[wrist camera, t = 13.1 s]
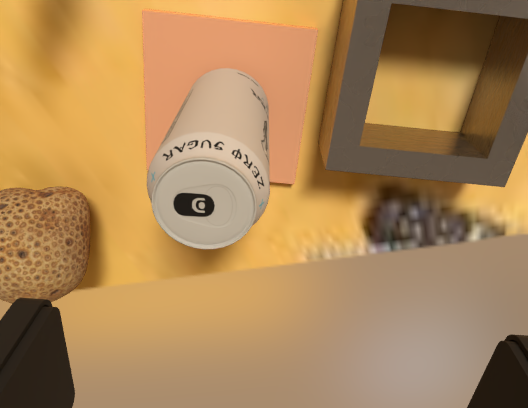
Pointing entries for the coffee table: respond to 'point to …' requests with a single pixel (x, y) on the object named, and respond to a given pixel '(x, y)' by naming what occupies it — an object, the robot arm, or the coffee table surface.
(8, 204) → the natural sponge
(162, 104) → the terracotta tile
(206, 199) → the energy drink can
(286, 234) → the coffee table surface
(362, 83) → the frame
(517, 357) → the robot arm
